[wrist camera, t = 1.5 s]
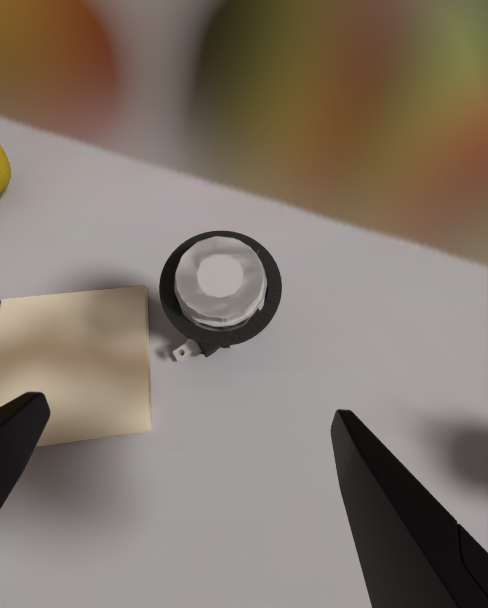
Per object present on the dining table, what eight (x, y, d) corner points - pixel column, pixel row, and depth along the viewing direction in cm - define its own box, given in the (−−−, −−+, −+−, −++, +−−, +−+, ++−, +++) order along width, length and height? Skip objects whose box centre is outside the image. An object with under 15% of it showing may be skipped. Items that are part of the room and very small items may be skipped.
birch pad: (151, 429, 19) (147, 431, 18) (-9, 451, 18) (-20, 454, 17) (147, 288, 21) (144, 285, 21) (10, 302, 21) (1, 299, 20)
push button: (198, 390, 19) (165, 390, 10) (160, 327, 21) (98, 273, 11) (275, 337, 21) (312, 293, 11) (235, 281, 22) (238, 198, 12)
